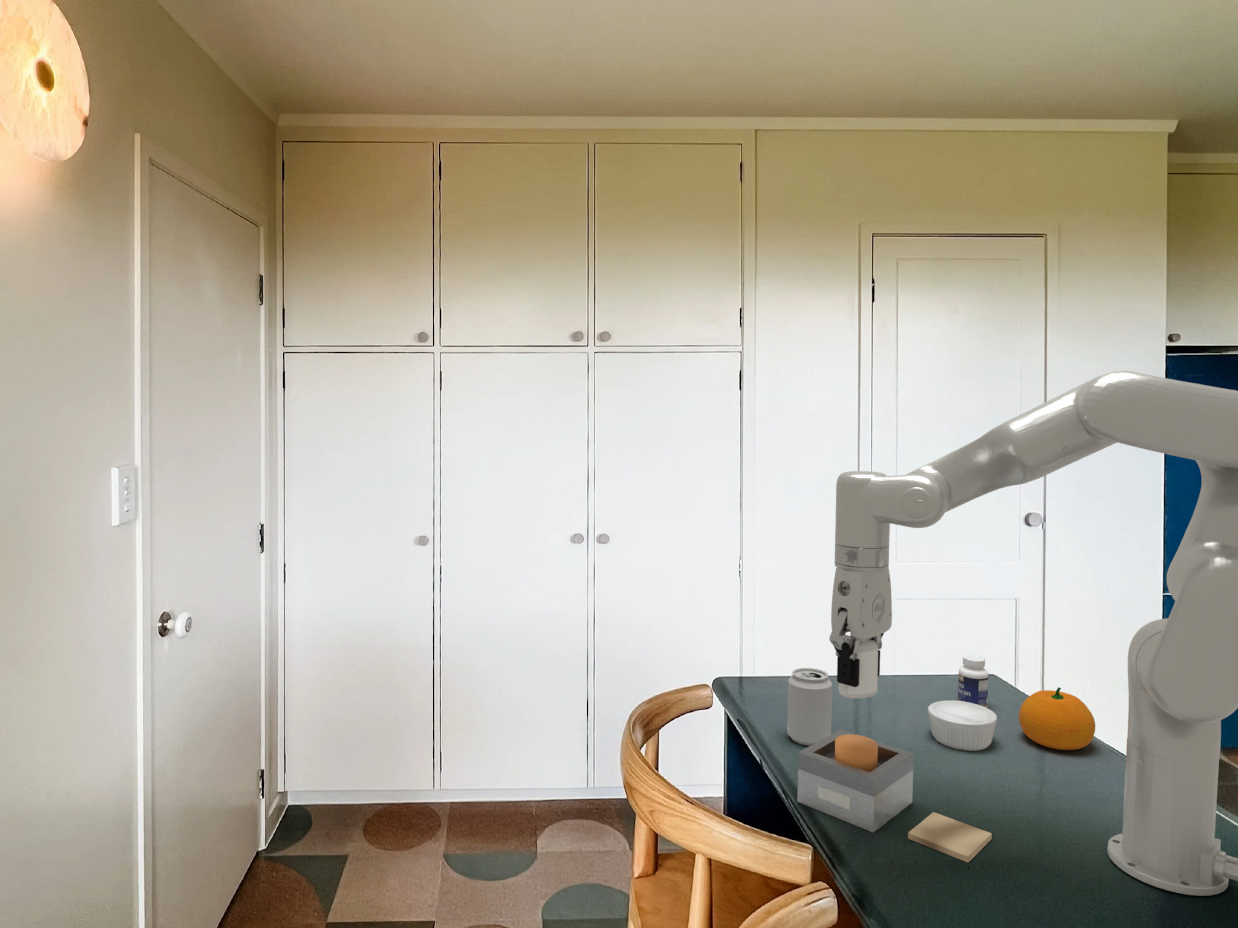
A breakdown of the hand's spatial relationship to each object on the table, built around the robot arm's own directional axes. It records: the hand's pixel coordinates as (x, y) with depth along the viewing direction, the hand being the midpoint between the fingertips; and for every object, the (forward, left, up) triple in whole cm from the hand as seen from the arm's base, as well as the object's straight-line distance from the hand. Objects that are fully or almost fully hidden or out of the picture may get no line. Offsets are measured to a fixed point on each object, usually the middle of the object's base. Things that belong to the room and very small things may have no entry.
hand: (858, 678), depth 115 cm
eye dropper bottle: (0, 0, -3) cm, 3 cm away
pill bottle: (+3, -52, -19) cm, 55 cm away
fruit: (-14, -45, -19) cm, 51 cm away
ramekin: (-2, -34, -19) cm, 39 cm away
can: (+17, -15, -19) cm, 30 cm away
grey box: (0, 0, -19) cm, 19 cm away
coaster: (-14, 0, -19) cm, 23 cm away
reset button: (0, 0, -15) cm, 15 cm away
